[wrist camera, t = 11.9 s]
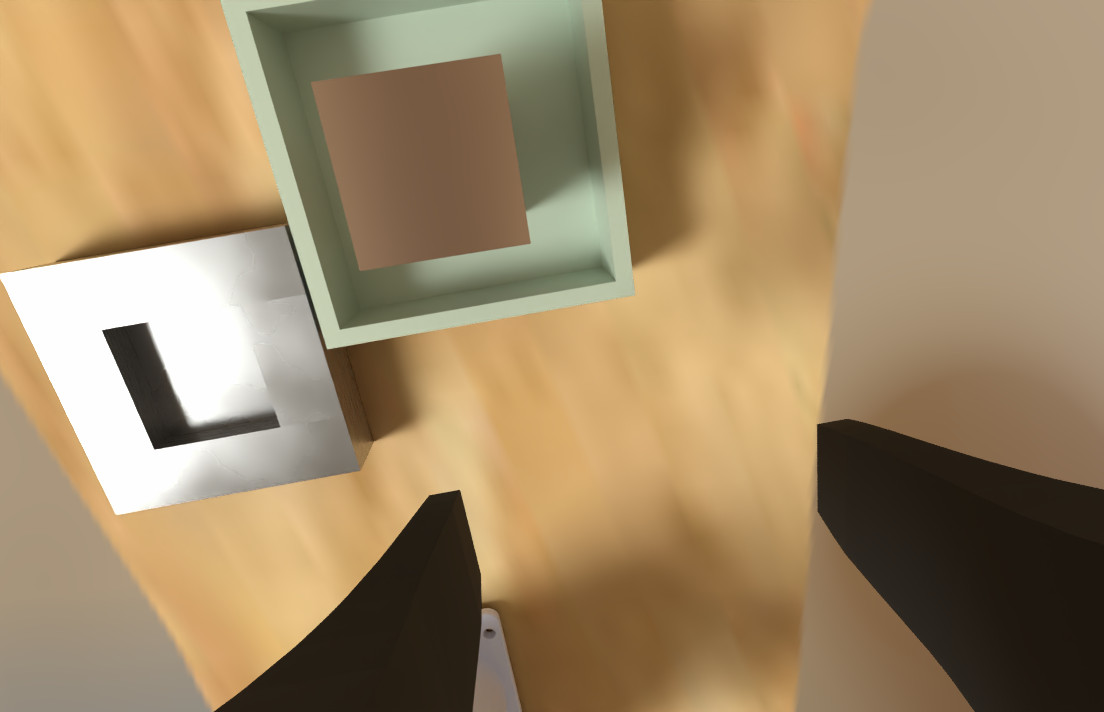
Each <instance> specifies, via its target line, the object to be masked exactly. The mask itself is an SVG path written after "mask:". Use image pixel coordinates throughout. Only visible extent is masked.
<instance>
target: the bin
mask: <svg viewBox="0 0 1104 712" xmlns="http://www.w3.org/2000/svg"><path fill="white" fill-rule="evenodd" d="M220 1H221V5H222V8H223V11H224V15H225V18H226V21H227V24H228V28H229V31H230V34H231V37H232V41H233V44H234V47H235V50H236V54H237V57H238V60H239V63H240V67H241V70H242V73H243V76H244V80H245V83H246V86H247V89H248V93H249V96H250V99H251V102H252V106H253V109H254V112H255V115H256V119H257V122H258V125H259V129H260V132H261V135H262V138H263V142H264V145H265V148H266V151H267V155H268V158H269V161H270V164H271V168H272V171H273V174H274V177H275V181H276V184H277V187H278V190H279V194H280V197H281V200H282V203H283V207H284V210H285V213H286V216H287V220H288V223H289V226H290V229H291V233H292V236H293V239H294V243H295V246H296V249H297V252H298V256H299V259H300V262H301V265H302V269H303V272H304V275H305V278H306V282H307V285H308V288H309V291H310V295H311V298H312V301H313V304H314V308H315V311H316V314H317V317H318V321H319V324H320V327H321V330H322V334H323V337H324V340H325V343H326V347H327V349H332V348H338V347H344V346H349V345H355V344H361V343H367V342H372V341H378V340H384V339H389V338H395V337H401V336H406V335H412V334H418V333H423V332H429V331H435V330H440V329H446V328H452V327H457V326H463V325H469V324H474V323H480V322H486V321H491V320H497V319H503V318H508V317H514V316H520V315H526V314H531V313H537V312H543V311H548V310H554V309H560V308H565V307H571V306H577V305H582V304H588V303H594V302H599V301H605V300H611V299H616V298H622V297H628V296H633V295H635V289H634V281H633V272H632V263H631V254H630V245H629V236H628V228H627V219H626V210H625V201H624V192H623V184H622V175H621V166H620V157H619V148H618V139H617V131H616V122H615V113H614V104H613V95H612V87H611V78H610V69H609V60H608V51H607V42H606V34H605V25H604V16H603V7H602V0H220ZM495 54H501V58H502V64H503V71H504V77H505V83H506V90H507V96H508V102H509V109H510V115H511V121H512V128H513V134H514V140H515V147H516V153H517V159H518V166H519V172H520V178H521V185H522V191H523V197H524V204H525V210H526V216H527V223H528V229H529V235H530V241H531V244H526V245H520V246H514V247H507V248H501V249H495V250H489V251H482V252H476V253H470V254H464V255H457V256H451V257H445V258H439V259H433V260H426V261H420V262H414V263H408V264H401V265H395V266H389V267H383V268H376V269H370V270H364V271H360V270H359V266H358V262H357V258H356V254H355V250H354V247H353V243H352V239H351V235H350V231H349V227H348V224H347V220H346V216H345V212H344V208H343V204H342V201H341V197H340V193H339V189H338V185H337V181H336V178H335V174H334V170H333V166H332V162H331V158H330V155H329V151H328V147H327V143H326V139H325V135H324V132H323V128H322V124H321V120H320V116H319V112H318V109H317V105H316V101H315V97H314V93H313V89H312V85H311V82H315V81H322V80H328V79H335V78H342V77H348V76H355V75H362V74H368V73H375V72H382V71H388V70H395V69H402V68H408V67H415V66H422V65H428V64H435V63H442V62H448V61H455V60H462V59H468V58H475V57H482V56H488V55H495Z"/></svg>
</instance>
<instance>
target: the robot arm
mask: <svg viewBox="0 0 1104 712" xmlns="http://www.w3.org/2000/svg"><path fill="white" fill-rule="evenodd" d="M817 474H818V513H819V514H820V516H821V517H822V519H823V521H824V522H825V524H826V525H827V527H828V529H829V530H830V532H831V533H832V535H833V536H834V538H835V539H836V541H837V542H838V544H839V545H840V546H841V548H842V550H843V551H844V553H845V554H846V555H847V556H848V558H849V559H850V560H851V561H852V562H853V564H854V565H855V566H856V567H857V568H858V570H859V571H860V572H861V573H862V574H863V575H864V576H865V578H866V579H867V580H868V581H869V582H870V583H871V585H872V586H873V587H874V588H875V589H876V591H877V592H878V593H879V594H880V595H881V596H882V597H883V599H884V600H885V601H886V602H887V603H888V604H889V605H890V606H891V608H892V609H893V610H894V611H895V612H896V613H897V614H898V616H899V617H900V618H901V619H902V620H903V621H904V622H905V624H906V625H907V626H908V627H909V628H910V630H911V631H912V632H913V633H914V634H915V635H916V636H917V638H918V639H919V640H920V641H921V642H922V643H923V645H924V646H925V647H926V648H927V649H928V650H929V651H930V653H931V654H932V655H933V656H934V658H935V659H936V660H937V661H938V663H939V664H940V665H941V666H942V667H943V669H944V670H945V671H946V672H947V674H948V675H949V676H950V678H951V679H952V681H953V682H954V683H955V685H956V686H957V688H958V689H959V690H960V692H961V693H962V694H963V696H964V697H965V699H966V700H967V701H968V703H969V704H970V706H971V707H972V708H973V710H974V711H975V712H1104V490H1103V489H1098V488H1093V487H1089V486H1085V485H1080V484H1075V483H1070V482H1066V481H1062V480H1057V479H1053V478H1049V477H1045V476H1041V475H1037V474H1033V473H1029V472H1026V471H1022V470H1018V469H1015V468H1011V467H1007V466H1004V465H1000V464H997V463H993V462H989V461H986V460H983V459H979V458H976V457H972V456H969V455H966V454H963V453H959V452H956V451H953V450H950V449H947V448H944V447H940V446H937V445H934V444H931V443H928V442H925V441H922V440H919V439H915V438H912V437H909V436H906V435H903V434H900V433H897V432H894V431H891V430H887V429H884V428H881V427H877V426H874V425H871V424H867V423H863V422H859V421H855V420H850V419H844V420H839V421H833V422H828V423H822V424H817ZM487 629H493V631H491V632H488V631H485V630H487ZM214 712H522V708H521V704H520V700H519V696H518V692H517V687H516V683H515V679H514V675H513V671H512V667H511V663H510V658H509V654H508V650H507V646H506V642H505V638H504V633H503V629H502V625H501V621H500V617H499V614H498V612H497V611H495V610H494V609H491V608H484V609H482V600H481V573H480V569H479V565H478V561H477V557H476V553H475V549H474V545H473V541H472V537H471V532H470V528H469V524H468V520H467V516H466V512H465V508H464V504H463V500H462V496H461V492H460V490H457V491H451V492H446V493H440V494H435V495H429V497H428V498H427V499H426V500H425V502H424V503H423V504H422V505H421V507H420V508H419V509H418V511H417V512H416V513H415V515H414V516H413V517H412V519H411V520H410V521H409V523H408V524H407V525H406V526H405V528H404V529H403V530H402V532H401V533H400V534H399V536H398V537H397V538H396V539H395V541H394V542H393V543H392V545H391V546H390V547H389V548H388V550H387V551H386V552H385V553H384V555H383V556H382V557H381V558H380V560H379V561H378V562H377V563H376V564H375V565H374V566H373V568H372V569H371V570H370V571H369V572H368V573H367V574H366V576H365V577H364V578H363V579H362V580H361V581H360V582H359V583H358V585H357V586H356V587H355V588H354V589H353V590H352V591H351V593H350V594H349V595H348V596H347V597H346V598H345V599H344V600H343V601H342V602H341V603H340V604H339V605H338V606H337V607H336V608H335V609H334V610H333V611H332V612H331V613H330V614H329V615H328V616H327V617H326V618H325V619H324V620H323V621H322V622H321V623H320V624H319V625H318V626H317V627H316V628H315V629H314V630H313V631H312V632H311V633H310V634H309V635H307V636H306V637H305V638H304V639H303V640H302V641H301V642H300V643H299V644H298V645H297V646H295V647H294V648H293V649H292V650H291V651H290V652H288V653H287V654H286V655H285V656H283V657H282V658H281V659H280V660H279V661H277V662H276V663H275V664H274V665H273V666H271V667H270V668H269V669H268V670H267V671H265V672H264V673H263V674H262V675H261V676H259V677H258V678H257V679H256V680H255V681H253V682H252V683H251V684H250V685H248V686H247V687H246V688H245V689H243V690H242V691H241V692H240V693H238V694H237V695H236V696H234V697H233V698H232V699H230V700H229V701H228V702H226V703H225V704H224V705H222V706H221V707H220V708H218V709H217V710H215V711H214Z"/></svg>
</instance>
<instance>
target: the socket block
mask: <svg viewBox="0 0 1104 712" xmlns="http://www.w3.org/2000/svg"><path fill="white" fill-rule="evenodd" d="M0 277H1V279H2V281H3V283H4V285H5V287H6V289H7V291H8V293H9V296H10V298H11V300H12V302H13V304H14V306H15V308H16V310H17V312H18V314H19V316H20V318H21V320H22V322H23V324H24V326H25V328H26V330H27V332H28V335H29V337H30V339H31V341H32V343H33V345H34V347H35V349H36V351H37V353H38V355H39V357H40V359H41V361H42V363H43V365H44V367H45V369H46V372H47V374H48V376H49V378H50V380H51V382H52V384H53V386H54V388H55V390H56V392H57V394H58V396H59V398H60V400H61V402H62V404H63V406H64V408H65V411H66V413H67V415H68V417H69V419H70V421H71V423H72V425H73V427H74V429H75V431H76V433H77V435H78V437H79V439H80V441H81V443H82V445H83V448H84V450H85V452H86V454H87V456H88V458H89V460H90V462H91V464H92V466H93V468H94V470H95V472H96V474H97V476H98V478H99V480H100V482H101V484H102V487H103V489H104V491H105V493H106V495H107V497H108V499H109V501H110V503H111V505H112V507H113V509H114V511H115V513H116V515H119V514H124V513H130V512H135V511H141V510H146V509H152V508H157V507H163V506H168V505H174V504H179V503H185V502H190V501H196V500H201V499H207V498H212V497H218V496H223V495H229V494H234V493H240V492H245V491H251V490H256V489H262V488H267V487H273V486H278V485H284V484H289V483H295V482H300V481H306V480H311V479H317V478H322V477H328V476H333V475H339V474H344V473H350V472H355V471H360V470H361V468H362V466H363V464H364V462H365V460H366V457H367V455H368V453H369V451H370V449H371V447H372V444H373V439H372V436H371V433H370V429H369V426H368V422H367V419H366V416H365V412H364V409H363V405H362V402H361V399H360V395H359V392H358V389H357V385H356V382H355V378H354V375H353V372H352V368H351V365H350V362H349V358H348V355H347V351H346V348H345V346H344V347H338V348H332V349H327V347H326V343H325V340H324V337H323V334H322V330H321V327H320V324H319V321H318V317H317V314H316V311H315V308H314V304H313V301H312V298H311V295H310V291H309V288H308V285H307V282H306V278H305V275H304V272H303V269H302V265H301V262H300V259H299V256H298V252H297V249H296V246H295V243H294V239H293V236H292V233H291V229H290V226H289V223H283V224H277V225H271V226H265V227H260V228H254V229H248V230H242V231H236V232H230V233H224V234H218V235H213V236H207V237H201V238H195V239H189V240H183V241H177V242H171V243H166V244H160V245H154V246H148V247H142V248H136V249H130V250H124V251H119V252H113V253H107V254H101V255H95V256H89V257H83V258H77V259H72V260H66V261H60V262H54V263H49V264H45V265H40V266H35V267H31V268H26V269H22V270H17V271H13V272H8V273H4V274H0Z"/></svg>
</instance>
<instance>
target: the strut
mask: <svg viewBox="0 0 1104 712" xmlns="http://www.w3.org/2000/svg"><path fill="white" fill-rule="evenodd" d="M311 85H312V89H313V93H314V97H315V101H316V105H317V109H318V112H319V116H320V120H321V124H322V128H323V132H324V135H325V139H326V143H327V147H328V151H329V155H330V158H331V162H332V166H333V170H334V174H335V178H336V181H337V185H338V189H339V193H340V197H341V201H342V204H343V208H344V212H345V216H346V220H347V224H348V227H349V231H350V235H351V239H352V243H353V247H354V250H355V254H356V258H357V262H358V266H359V270H360V271H364V270H370V269H376V268H383V267H389V266H395V265H401V264H408V263H414V262H420V261H426V260H433V259H439V258H445V257H451V256H457V255H464V254H470V253H476V252H482V251H489V250H495V249H501V248H507V247H514V246H520V245H526V244H531V241H530V235H529V229H528V223H527V216H526V210H525V204H524V197H523V191H522V185H521V178H520V172H519V166H518V159H517V153H516V147H515V140H514V134H513V128H512V121H511V115H510V109H509V102H508V96H507V90H506V83H505V77H504V71H503V64H502V58H501V54H495V55H488V56H482V57H475V58H468V59H462V60H455V61H448V62H442V63H435V64H428V65H422V66H415V67H408V68H402V69H395V70H388V71H382V72H375V73H368V74H362V75H355V76H348V77H342V78H335V79H328V80H322V81H315V82H311Z"/></svg>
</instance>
